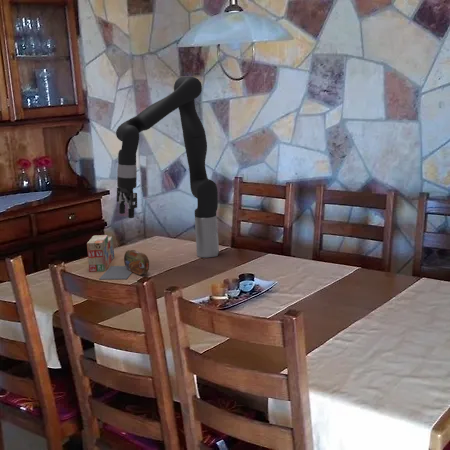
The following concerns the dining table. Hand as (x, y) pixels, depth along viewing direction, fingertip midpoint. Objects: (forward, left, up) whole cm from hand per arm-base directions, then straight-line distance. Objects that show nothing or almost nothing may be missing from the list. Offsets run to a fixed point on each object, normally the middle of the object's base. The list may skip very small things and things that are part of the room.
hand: (126, 215), depth 253 cm
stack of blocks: (+14, -7, -22) cm, 27 cm away
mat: (+3, +6, -22) cm, 23 cm away
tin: (-4, +6, -22) cm, 23 cm away
